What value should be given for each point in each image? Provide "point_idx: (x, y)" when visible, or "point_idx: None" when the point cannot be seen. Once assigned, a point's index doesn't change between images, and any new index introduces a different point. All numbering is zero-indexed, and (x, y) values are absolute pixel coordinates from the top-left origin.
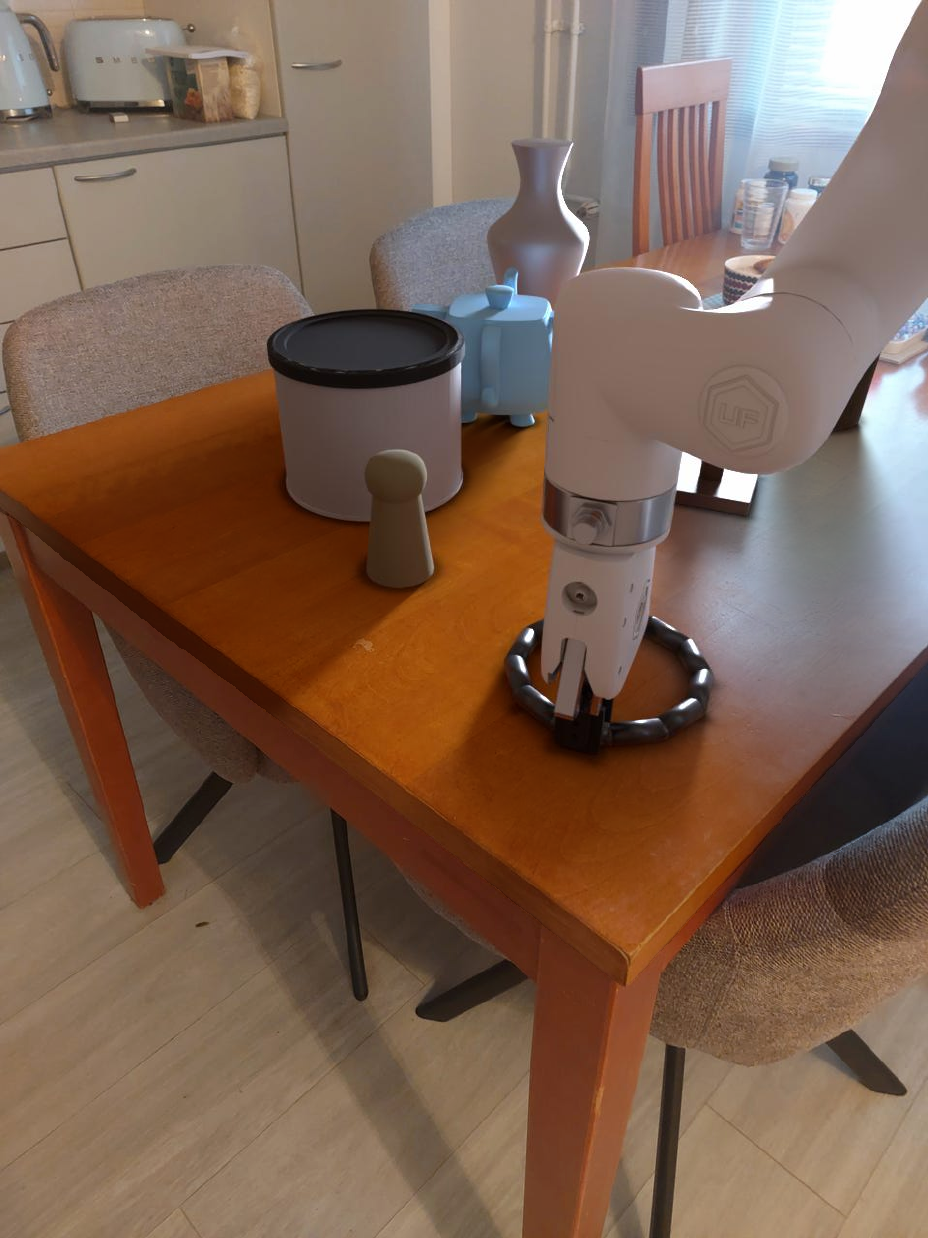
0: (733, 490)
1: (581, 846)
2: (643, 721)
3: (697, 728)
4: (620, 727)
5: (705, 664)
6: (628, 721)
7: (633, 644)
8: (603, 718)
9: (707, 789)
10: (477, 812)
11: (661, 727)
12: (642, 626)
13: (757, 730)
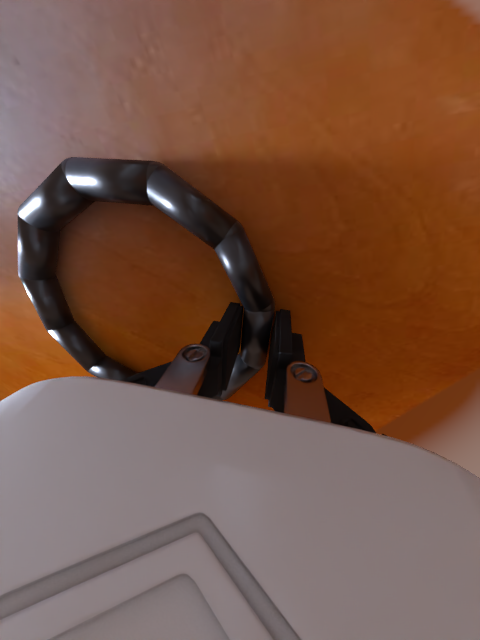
0: None
1: (456, 308)
2: (233, 267)
3: (188, 173)
4: (256, 297)
5: (54, 178)
6: (238, 287)
7: (303, 586)
8: (289, 342)
9: (329, 127)
10: (390, 402)
11: (234, 236)
12: (109, 466)
13: (144, 33)
